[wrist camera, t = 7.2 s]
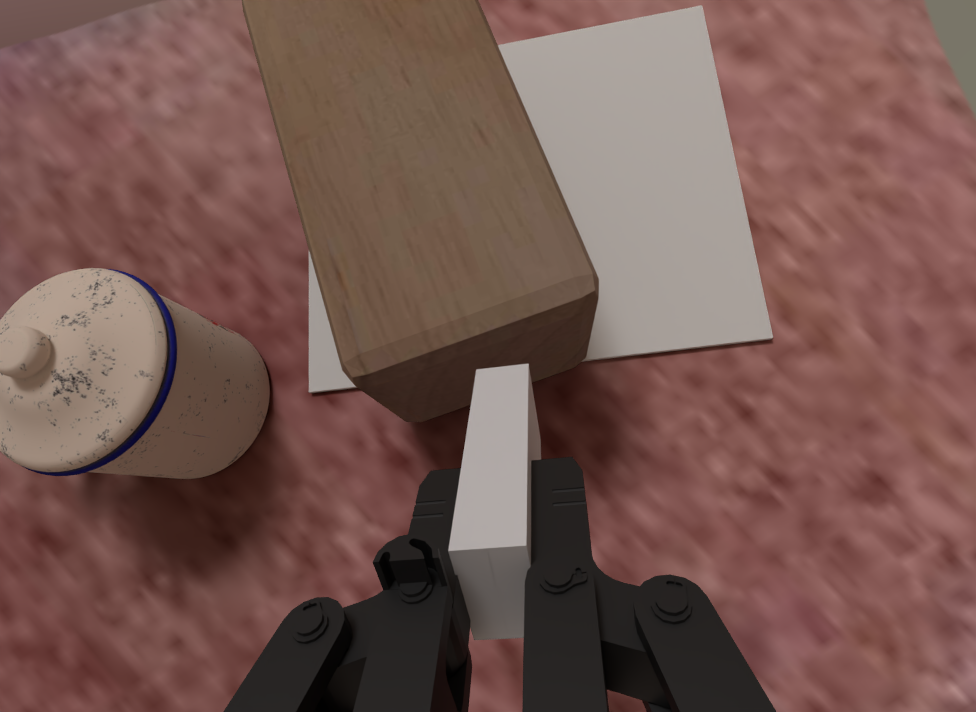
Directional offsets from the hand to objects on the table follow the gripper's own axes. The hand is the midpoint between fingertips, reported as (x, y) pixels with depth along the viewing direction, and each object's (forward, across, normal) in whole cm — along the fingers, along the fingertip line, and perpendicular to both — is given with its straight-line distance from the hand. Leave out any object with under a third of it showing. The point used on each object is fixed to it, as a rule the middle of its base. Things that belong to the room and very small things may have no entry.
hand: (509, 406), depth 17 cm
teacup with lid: (+12, -20, -6) cm, 25 cm away
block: (+7, -2, -3) cm, 8 cm away
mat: (+19, 0, +1) cm, 19 cm away
